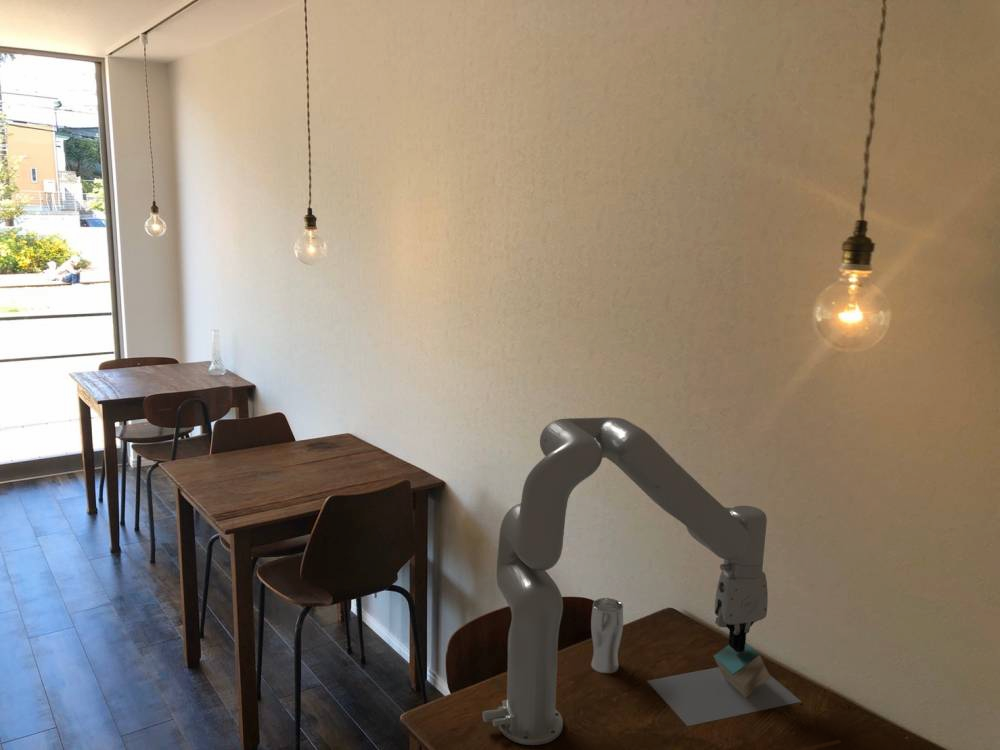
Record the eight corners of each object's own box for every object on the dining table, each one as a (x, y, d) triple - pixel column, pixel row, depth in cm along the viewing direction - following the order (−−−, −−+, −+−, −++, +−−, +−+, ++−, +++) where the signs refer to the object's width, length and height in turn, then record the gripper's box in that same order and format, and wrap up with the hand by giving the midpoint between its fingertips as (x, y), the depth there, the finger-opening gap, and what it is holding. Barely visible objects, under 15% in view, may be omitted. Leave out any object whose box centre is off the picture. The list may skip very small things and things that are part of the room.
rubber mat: (687, 728, 151) (687, 726, 151) (646, 682, 166) (646, 680, 166) (801, 703, 160) (801, 701, 160) (752, 662, 175) (753, 660, 175)
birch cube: (759, 654, 160) (770, 678, 162) (738, 637, 166) (750, 660, 168) (733, 674, 158) (744, 698, 161) (713, 656, 165) (724, 679, 167)
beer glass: (627, 670, 171) (630, 607, 168) (603, 680, 167) (606, 615, 164) (606, 655, 176) (609, 594, 173) (582, 664, 172) (585, 602, 170)
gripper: (722, 579, 152) (716, 664, 156) (785, 569, 157) (778, 652, 161) (701, 563, 159) (695, 645, 163) (762, 554, 164) (755, 634, 168)
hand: (736, 648), depth 162 cm, fingers closed
